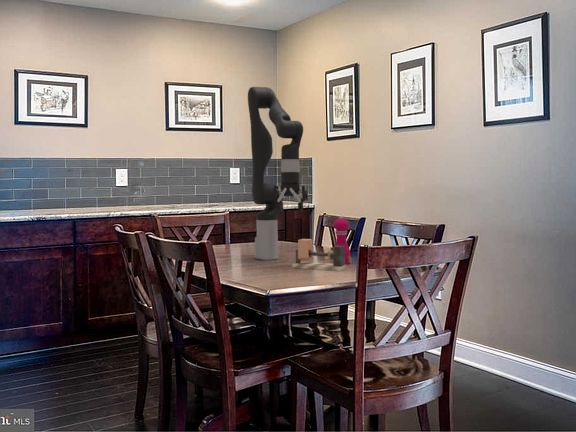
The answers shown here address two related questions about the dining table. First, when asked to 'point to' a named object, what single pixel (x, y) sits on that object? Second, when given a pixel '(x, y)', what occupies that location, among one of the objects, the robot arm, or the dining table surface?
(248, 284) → the dining table surface
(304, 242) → the marker sleeve
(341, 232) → the pepper mill
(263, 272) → the dining table surface
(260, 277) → the dining table surface
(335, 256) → the cord stand
